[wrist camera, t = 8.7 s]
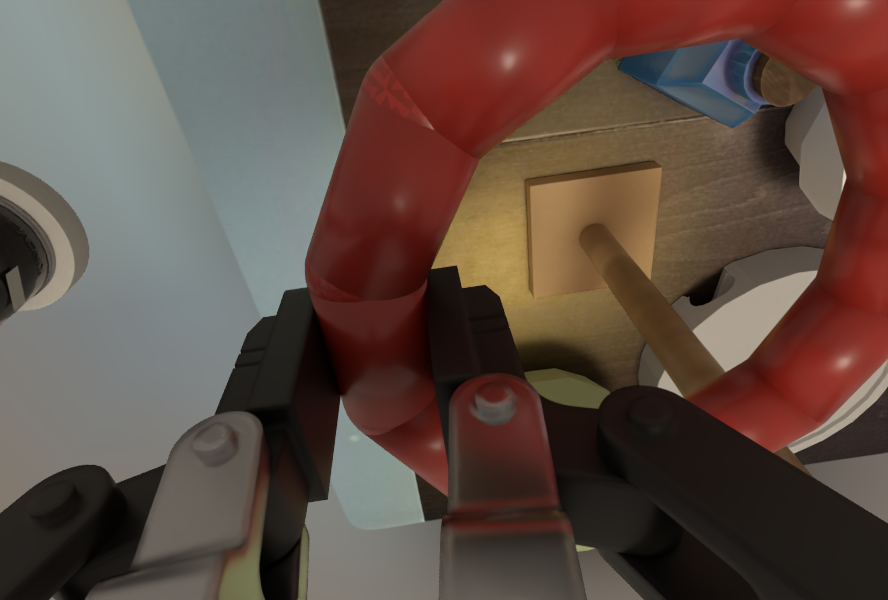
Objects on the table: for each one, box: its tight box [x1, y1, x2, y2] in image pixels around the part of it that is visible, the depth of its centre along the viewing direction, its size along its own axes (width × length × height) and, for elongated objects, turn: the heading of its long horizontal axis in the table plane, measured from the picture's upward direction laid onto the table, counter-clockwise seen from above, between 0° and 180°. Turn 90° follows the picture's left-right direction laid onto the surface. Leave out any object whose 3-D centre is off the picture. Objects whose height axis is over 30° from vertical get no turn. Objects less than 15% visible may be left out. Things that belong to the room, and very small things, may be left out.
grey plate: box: [638, 246, 888, 453], centre depth 50 cm, size 23×23×4 cm
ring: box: [305, 0, 888, 497], centre depth 11 cm, size 13×13×2 cm
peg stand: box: [526, 161, 812, 477], centre depth 27 cm, size 10×10×38 cm
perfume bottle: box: [618, 39, 817, 128], centre depth 31 cm, size 6×6×12 cm
